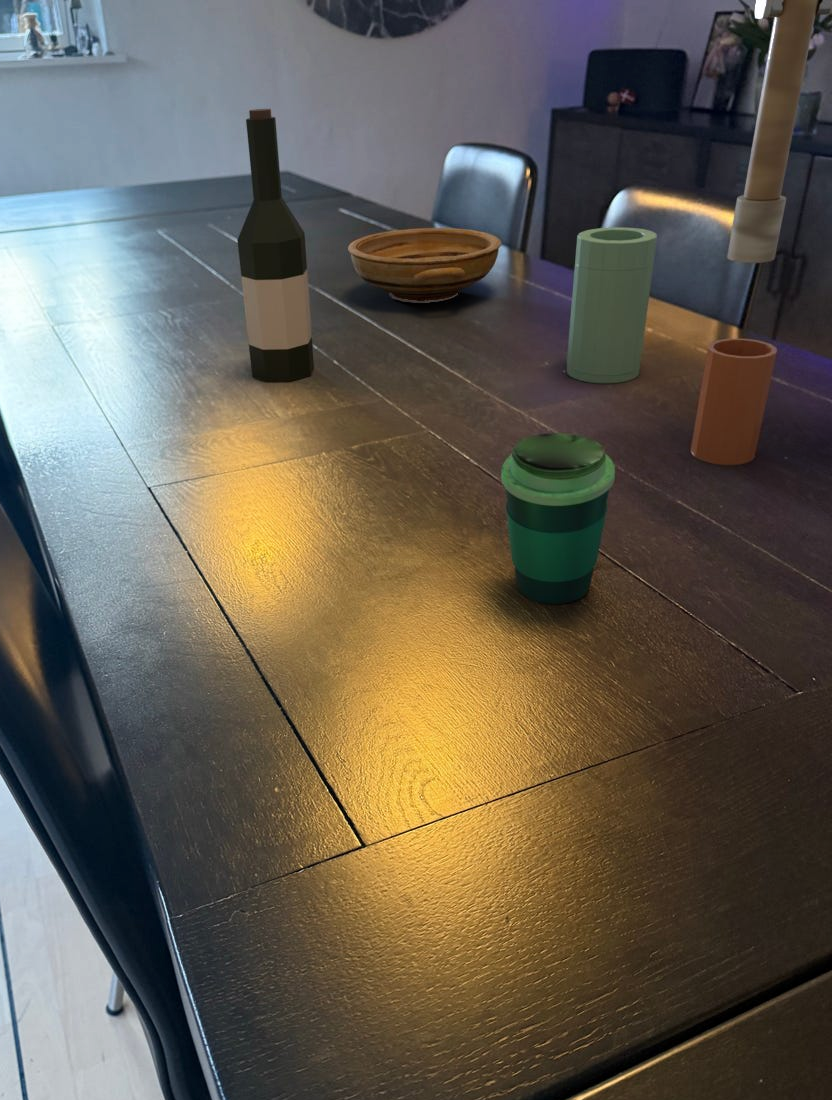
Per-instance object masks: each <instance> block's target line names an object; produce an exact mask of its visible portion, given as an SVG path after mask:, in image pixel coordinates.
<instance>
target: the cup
mask: <svg viewBox="0 0 832 1100" xmlns="http://www.w3.org/2000/svg"><path fill="white" fill-rule="evenodd" d="M500 472H501V473H500V479H501V484H502V485H503V487H504V488H505V495H506V504H505V509H506V510H505V511H506V521H507V528H508V537H509V547H510V555H511V561H512V562H511V563H512V564H513V566H514V573H515V575H514V576H515V583H516V586H517V589H518V591H519V592H520V593H521V595H523V596H524V595H525V596H524V597H525V598H527V599H529V600H532V601H533V600H534V602H537V603H540V602H541V604H545V603H546V605H565V604H570V603H571V604H572V603H573V602H577V601H579V600H580V599H582V598H583V597H584V596H585V595H586V594H587V593H588V591H589V590H590V588H591V583H592V579H593V575H594V574H593V573H594V569H595V566H596V565H597V562H598V556H599V551H600V546H601V541H602V537H603V532H604V527H605V522H606V517H607V513H608V512H607V511H608V498H609V494H610V489H611V487H613V484H614V483H615V480H616V479H615V478H616V470H615V464H614V462H613V460H612V459H611V458H610V456H609V455H608V454H606V451H605V448H604V446H603V445H602V444H601V443H599V442H598V441H597V440H595V439H592V438H589V437H587V436H583V435H580V434H573V433H563V432H562V433H561V432H552V433H550V432H549V433H540V434H535V435H531V436H527V437H526V438H523V439H522V440H520V441H519V442H518V443H516V445H515V446H514V448H513V449H512V452H511V454H510V455H509V456H508V457H507V458H506V459H505V460H504V462H503V464H502V466H501V471H500Z"/></svg>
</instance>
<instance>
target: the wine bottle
mask: <svg viewBox="0 0 832 1100" xmlns="http://www.w3.org/2000/svg"><path fill="white" fill-rule="evenodd" d="M248 113H249V114H248V115H249V117H248V118H246V119H245V123H246V133H247V143H248V144H247V145H248V155H249V165H250V177H251V184H252V185H251V186H252V197H253V201H252V203H251V205H250V208H249V211H248V213H247V216H246V218H245V220H244V223H243V225H242V228H241V230H240V232H239V235H238V237H237V239H236V240H237V249H238V259H239V269H240V275H241V276H240V277H241V284H242V285H241V287H242V296H243V297H242V298H243V305H244V314H245V324H246V331H247V332H246V333H247V342H248V350H249V362H250V369H251V377H252V378H255V379H256V380H260V381H262V382H265V383H291V382H295V381H298V380H301V379H302V380H303V379H305V378H308V377H311V376H312V374H313V371H314V369H315V363H314V362H315V361H314V347H313V337H312V336H313V334H312V321H311V320H312V319H311V306H310V290H309V289H310V288H309V277H308V264H307V263H308V262H307V248H306V235H305V234H306V233H305V231H304V229H303V228H302V226H301V225H300V223H299V221H297V218H296V217H295V215H294V214H293V212H292V211H291V209H290V208H289V206H288V205H287V203H286V201H285V199H284V198H283V196H282V195H283V194H282V183H281V181H282V180H281V171H280V159H279V157H280V156H279V146H278V144H279V143H278V134H277V133H278V132H277V123H276V122H277V121H276V120H277V119H276V117H275V116H272V109H271V108H256V109H250V110H249V111H248Z"/></svg>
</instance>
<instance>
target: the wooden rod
mask: <svg viewBox="0 0 832 1100" xmlns="http://www.w3.org/2000/svg"><path fill="white" fill-rule="evenodd" d="M817 4H818V0H784V1H783V3H782V6H783V10H782V13H781V16H780V17H775V18H773V21H772V26H771V27H772V28H771V32H770V33H771V34H770V40H769V45H768V51H767V58H766V61H765V62H766V63H765V68H764V74H763V81H762V86H761V92H760V96H759V97H760V98H759V103H758V110H757V115H756V119H755V120H756V121H755V127H754V134H753V139H752V144H751V151H750V156H749V162H748V167H747V173H746V179H745V184H744V185H745V186H744V191H743V195H739V196H737V197H736V202H735V208H734V214H733V220H732V226H731V231H730V232H731V233H730V237H729V244H728V250H727V255H726V258H727V259H728V260H729V261H732V262H734V263H735V262H736V263H743V264H764V263H769V262H772V261H774V260H775V258H776V254H777V250H778V249H777V248H778V243H779V238H780V233H781V232H780V231H781V228H782V222H783V218H784V212H785V207H786V203H787V197H786V196H784V195H782V192H783V191H782V190H783V185H784V180H785V175H786V170H787V165H788V160H789V153H790V149H791V143H792V138H793V134H794V128H795V123H796V118H797V112H798V108H799V102H800V98H801V92H802V88H803V87H802V86H803V82H804V77H805V71H806V65H807V60H808V57H809V55H808V54H809V50H810V44H811V39H812V35H813V29H814V25H815V19H816V15H815V14H816V9H817Z"/></svg>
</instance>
